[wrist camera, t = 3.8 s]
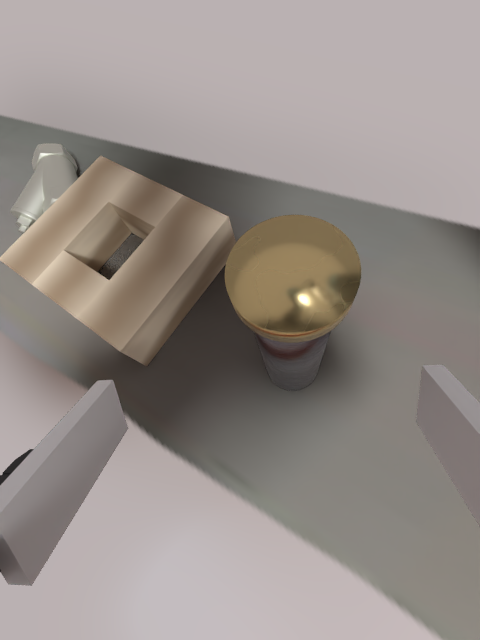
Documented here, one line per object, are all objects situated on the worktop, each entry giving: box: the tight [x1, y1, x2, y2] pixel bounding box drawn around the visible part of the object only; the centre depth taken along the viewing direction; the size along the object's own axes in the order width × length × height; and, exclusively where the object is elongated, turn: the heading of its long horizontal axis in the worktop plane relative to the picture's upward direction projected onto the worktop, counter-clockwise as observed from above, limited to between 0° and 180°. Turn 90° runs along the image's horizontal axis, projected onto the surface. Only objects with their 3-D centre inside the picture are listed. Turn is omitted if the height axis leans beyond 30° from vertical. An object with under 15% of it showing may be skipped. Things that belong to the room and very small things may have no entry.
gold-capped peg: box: [225, 215, 361, 391], centre depth 16 cm, size 4×4×13 cm
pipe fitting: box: [10, 143, 78, 234], centre depth 31 cm, size 8×4×7 cm
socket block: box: [0, 156, 236, 366], centre depth 26 cm, size 14×12×4 cm
